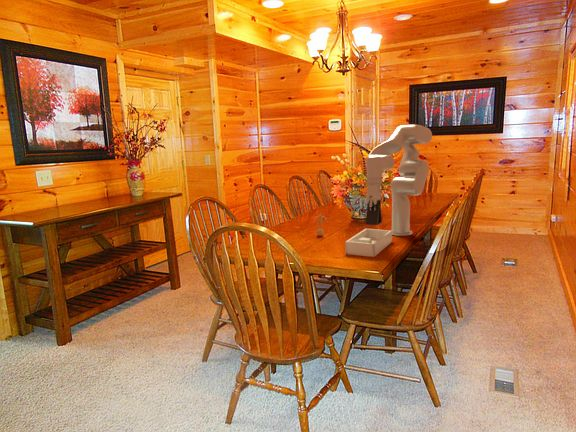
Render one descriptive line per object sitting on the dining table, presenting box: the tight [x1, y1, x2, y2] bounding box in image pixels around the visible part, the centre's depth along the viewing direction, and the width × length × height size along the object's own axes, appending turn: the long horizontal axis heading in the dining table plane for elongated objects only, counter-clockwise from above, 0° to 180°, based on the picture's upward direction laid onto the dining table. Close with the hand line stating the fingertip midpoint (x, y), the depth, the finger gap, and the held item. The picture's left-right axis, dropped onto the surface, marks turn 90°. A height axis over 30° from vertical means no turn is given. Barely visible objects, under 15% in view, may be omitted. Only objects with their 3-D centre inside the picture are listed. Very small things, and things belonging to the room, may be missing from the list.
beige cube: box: [359, 237, 372, 243], centre depth 206 cm, size 5×5×5 cm
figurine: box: [312, 213, 329, 237], centre depth 240 cm, size 8×6×12 cm
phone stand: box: [365, 200, 383, 226], centre depth 216 cm, size 9×6×12 cm, turn 151°
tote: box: [345, 228, 393, 258], centre depth 212 cm, size 30×14×6 cm, turn 151°
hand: (374, 217), depth 216 cm, fingers closed on phone stand, 1 cm apart
